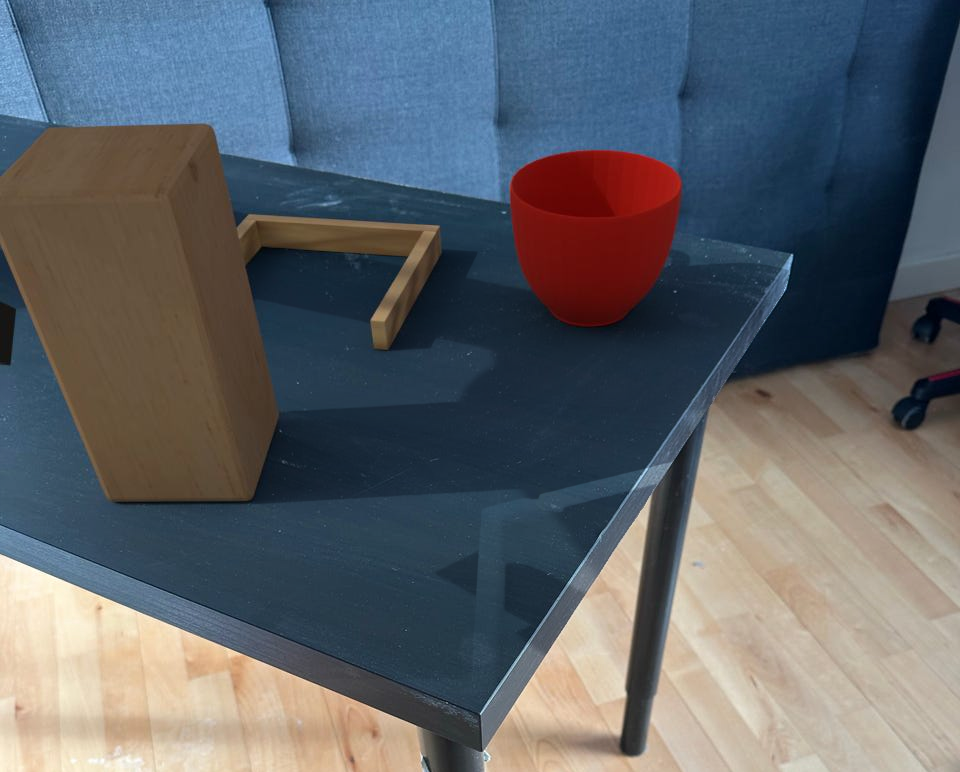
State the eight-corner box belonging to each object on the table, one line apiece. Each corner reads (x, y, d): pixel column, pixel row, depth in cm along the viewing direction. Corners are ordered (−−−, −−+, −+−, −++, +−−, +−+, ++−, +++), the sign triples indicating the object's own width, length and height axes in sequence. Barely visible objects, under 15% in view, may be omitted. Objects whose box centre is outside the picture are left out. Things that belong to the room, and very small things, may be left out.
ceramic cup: (609, 241, 86) (617, 123, 78) (696, 328, 75) (714, 200, 67) (475, 267, 83) (470, 148, 76) (544, 361, 72) (546, 231, 65)
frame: (388, 350, 74) (384, 321, 72) (175, 332, 77) (167, 303, 75) (441, 252, 85) (440, 225, 84) (254, 240, 89) (248, 213, 87)
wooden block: (281, 417, 68) (214, 120, 54) (254, 504, 62) (168, 191, 47) (147, 418, 69) (45, 124, 54) (105, 504, 62) (-25, 195, 47)
